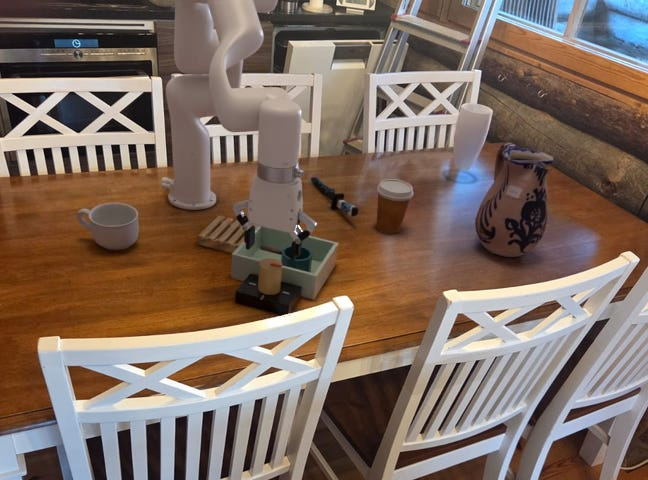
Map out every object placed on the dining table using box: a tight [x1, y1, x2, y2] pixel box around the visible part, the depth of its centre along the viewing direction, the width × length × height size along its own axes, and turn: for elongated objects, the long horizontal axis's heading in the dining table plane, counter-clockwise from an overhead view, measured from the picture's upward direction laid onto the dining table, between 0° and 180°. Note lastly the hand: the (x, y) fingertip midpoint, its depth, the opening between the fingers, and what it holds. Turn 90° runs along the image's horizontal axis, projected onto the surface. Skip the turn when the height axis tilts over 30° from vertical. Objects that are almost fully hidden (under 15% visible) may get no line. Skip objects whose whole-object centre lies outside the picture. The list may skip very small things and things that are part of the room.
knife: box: [310, 176, 359, 218], centre depth 176 cm, size 31×3×4 cm, turn 20°
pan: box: [260, 246, 312, 272], centre depth 144 cm, size 12×7×5 cm, turn 73°
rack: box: [197, 215, 258, 254], centre depth 153 cm, size 12×12×3 cm
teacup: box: [76, 202, 140, 251], centre depth 145 cm, size 14×11×8 cm
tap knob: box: [258, 258, 282, 295], centre depth 132 cm, size 5×5×6 cm
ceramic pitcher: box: [474, 142, 555, 258], centre depth 159 cm, size 18×21×25 cm
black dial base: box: [234, 273, 302, 316], centre depth 134 cm, size 12×9×3 cm
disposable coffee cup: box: [376, 178, 415, 234], centre depth 165 cm, size 10×10×12 cm
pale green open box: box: [230, 226, 339, 300], centre depth 144 cm, size 20×17×6 cm
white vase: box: [452, 102, 494, 172], centre depth 196 cm, size 10×10×22 cm
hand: (272, 252), depth 128 cm, fingers open, 9 cm apart
